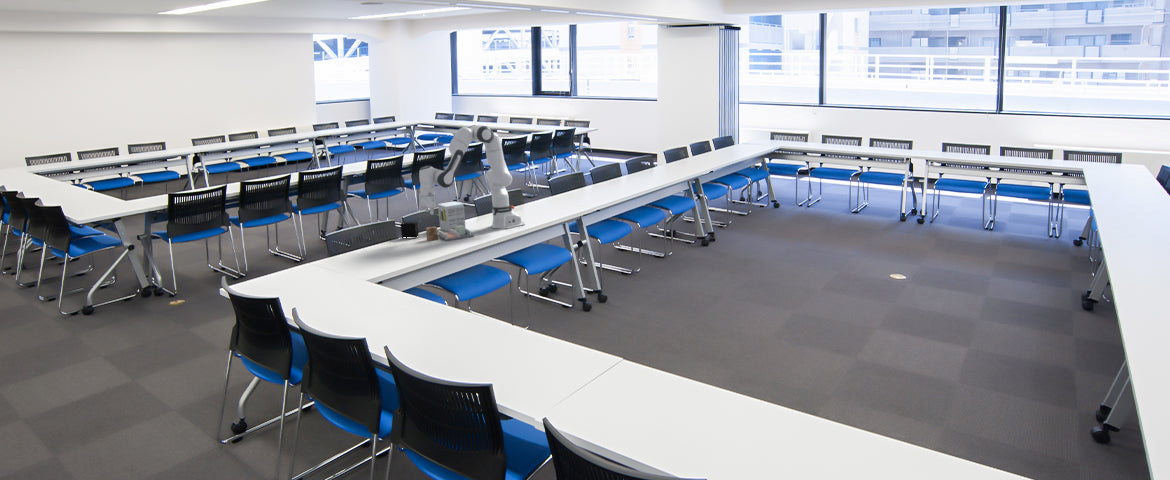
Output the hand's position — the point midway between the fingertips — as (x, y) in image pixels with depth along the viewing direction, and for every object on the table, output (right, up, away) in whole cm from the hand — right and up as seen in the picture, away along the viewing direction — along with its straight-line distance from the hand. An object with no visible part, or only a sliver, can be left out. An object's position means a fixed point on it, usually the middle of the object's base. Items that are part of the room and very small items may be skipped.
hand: (429, 213), depth 483 cm
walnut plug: (+1, -17, +4) cm, 18 cm away
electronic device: (-15, -16, +13) cm, 25 cm away
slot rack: (+14, -15, +11) cm, 23 cm away
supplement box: (+9, -10, +31) cm, 34 cm away
